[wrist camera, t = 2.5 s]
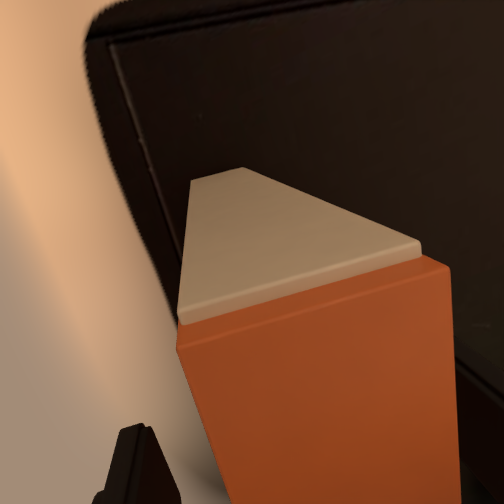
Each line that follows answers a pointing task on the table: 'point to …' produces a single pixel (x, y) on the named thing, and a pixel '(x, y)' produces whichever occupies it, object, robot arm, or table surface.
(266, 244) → the book
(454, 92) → the table surface
